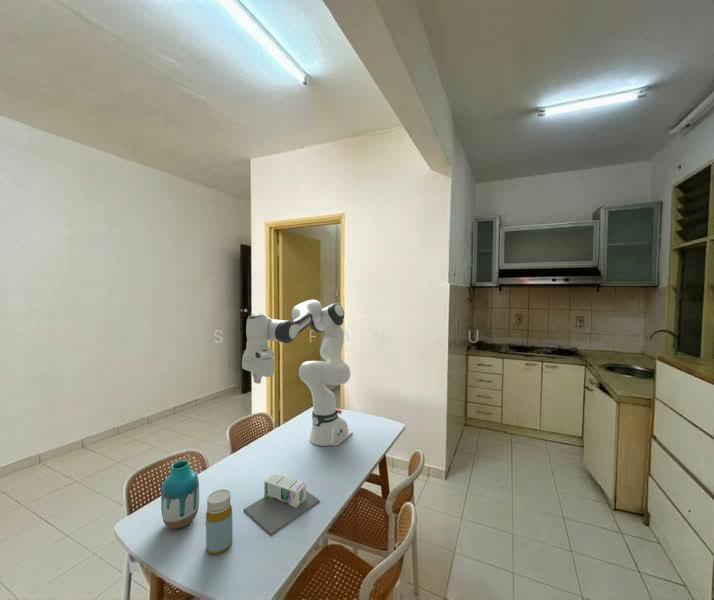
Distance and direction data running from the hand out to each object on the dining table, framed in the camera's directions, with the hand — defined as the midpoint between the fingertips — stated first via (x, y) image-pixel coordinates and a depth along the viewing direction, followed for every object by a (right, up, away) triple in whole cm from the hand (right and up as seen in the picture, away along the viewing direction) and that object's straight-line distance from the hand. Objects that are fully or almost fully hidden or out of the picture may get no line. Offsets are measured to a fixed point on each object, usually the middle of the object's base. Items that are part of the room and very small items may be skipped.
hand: (257, 382), depth 134 cm
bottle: (+3, -36, -44) cm, 57 cm away
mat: (+17, -35, -27) cm, 48 cm away
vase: (-13, -36, -35) cm, 52 cm away
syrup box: (+11, -32, -20) cm, 39 cm away
